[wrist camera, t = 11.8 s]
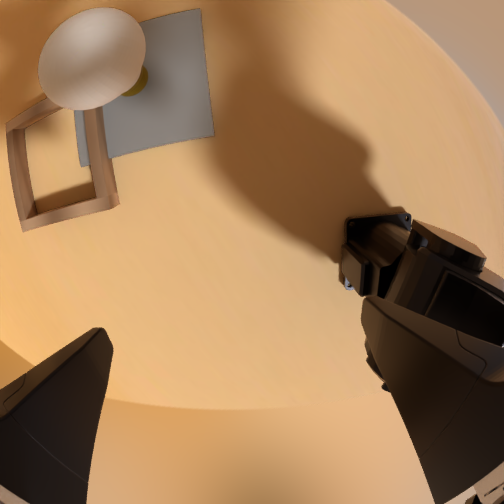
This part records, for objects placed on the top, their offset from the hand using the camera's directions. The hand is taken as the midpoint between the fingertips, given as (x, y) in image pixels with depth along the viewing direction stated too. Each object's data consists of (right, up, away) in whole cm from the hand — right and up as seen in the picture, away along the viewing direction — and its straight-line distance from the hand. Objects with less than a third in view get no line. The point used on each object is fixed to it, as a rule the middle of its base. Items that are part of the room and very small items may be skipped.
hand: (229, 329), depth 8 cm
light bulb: (-8, +15, +7) cm, 18 cm away
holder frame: (-15, +10, +9) cm, 21 cm away
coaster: (-8, +15, +7) cm, 19 cm away
